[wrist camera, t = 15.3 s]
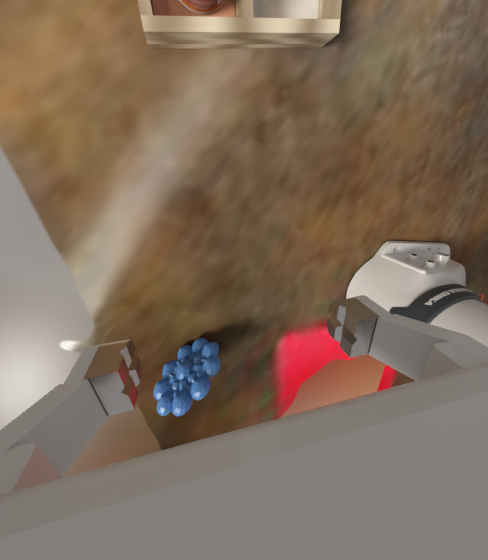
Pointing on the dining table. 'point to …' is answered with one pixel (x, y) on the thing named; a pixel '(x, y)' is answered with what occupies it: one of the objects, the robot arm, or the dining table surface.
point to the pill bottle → (202, 5)
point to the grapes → (187, 377)
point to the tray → (241, 24)
